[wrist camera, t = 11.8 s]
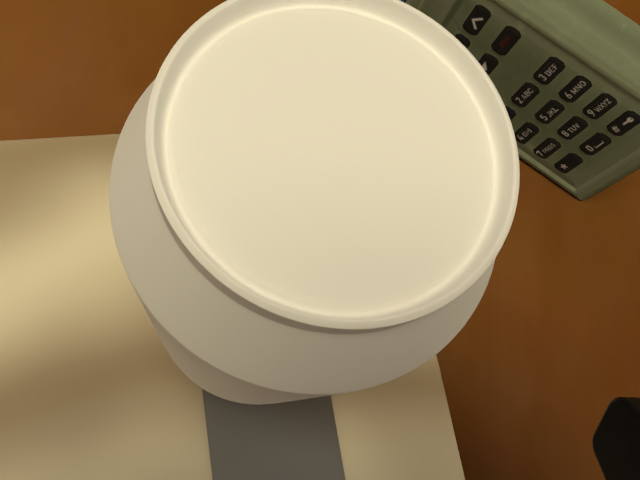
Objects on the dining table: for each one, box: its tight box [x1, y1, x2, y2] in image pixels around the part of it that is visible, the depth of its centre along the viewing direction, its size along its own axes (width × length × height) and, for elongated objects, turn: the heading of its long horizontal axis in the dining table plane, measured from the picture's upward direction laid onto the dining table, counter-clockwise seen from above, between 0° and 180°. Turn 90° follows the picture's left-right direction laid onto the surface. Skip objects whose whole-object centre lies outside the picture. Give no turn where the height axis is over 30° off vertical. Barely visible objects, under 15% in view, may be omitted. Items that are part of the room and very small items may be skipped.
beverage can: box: [109, 0, 520, 405], centre depth 13 cm, size 6×6×12 cm
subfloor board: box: [0, 134, 465, 480], centre depth 18 cm, size 18×14×1 cm
